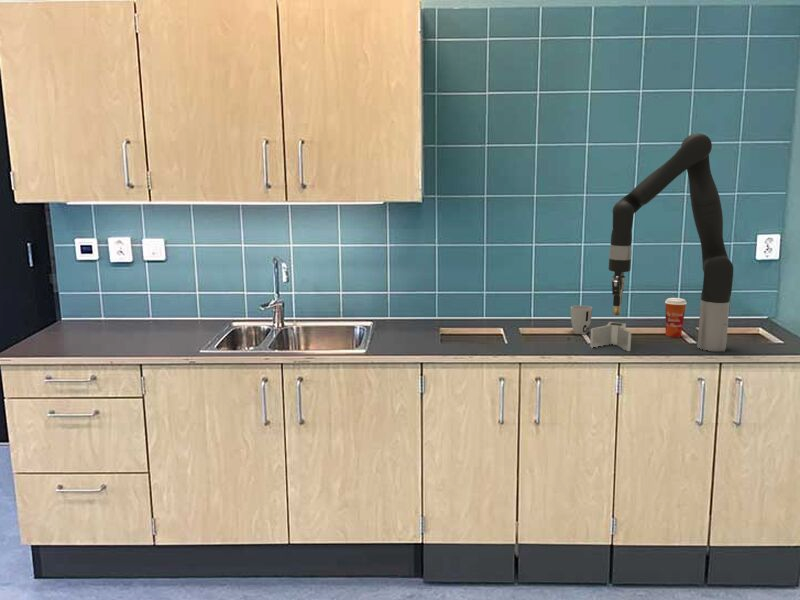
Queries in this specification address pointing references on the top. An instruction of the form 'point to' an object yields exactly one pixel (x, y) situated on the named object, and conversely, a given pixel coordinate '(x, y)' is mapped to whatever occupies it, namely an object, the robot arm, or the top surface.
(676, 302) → the paper cup
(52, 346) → the top surface
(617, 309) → the pin
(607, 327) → the grey finned stand
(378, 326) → the top surface
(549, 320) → the top surface
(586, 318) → the cup
